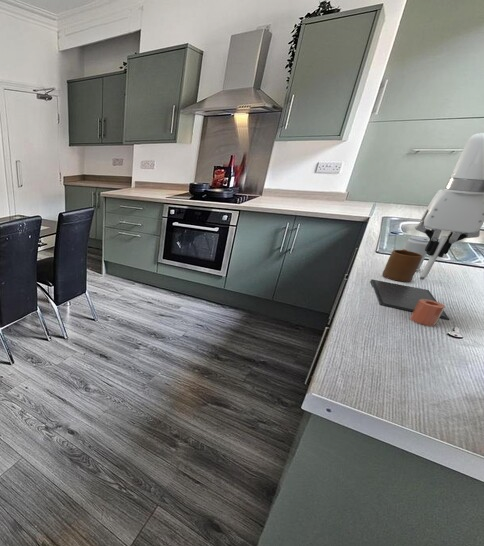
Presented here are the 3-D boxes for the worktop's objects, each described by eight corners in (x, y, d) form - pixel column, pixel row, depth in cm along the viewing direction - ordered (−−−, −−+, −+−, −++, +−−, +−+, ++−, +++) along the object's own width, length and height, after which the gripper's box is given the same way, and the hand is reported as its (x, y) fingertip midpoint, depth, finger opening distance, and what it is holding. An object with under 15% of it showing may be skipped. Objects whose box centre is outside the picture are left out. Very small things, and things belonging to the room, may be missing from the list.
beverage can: (422, 272, 116) (438, 241, 111) (400, 270, 118) (414, 239, 113) (412, 266, 121) (427, 237, 116) (392, 264, 123) (405, 235, 118)
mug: (380, 268, 119) (390, 245, 115) (407, 273, 114) (419, 249, 111) (382, 278, 110) (393, 253, 107) (412, 284, 106) (425, 258, 102)
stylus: (424, 279, 88) (447, 236, 82) (424, 280, 87) (448, 237, 81) (418, 278, 89) (441, 235, 83) (418, 279, 88) (442, 237, 82)
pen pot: (431, 321, 84) (442, 302, 82) (436, 329, 81) (447, 309, 78) (408, 316, 86) (417, 297, 84) (411, 323, 83) (421, 304, 81)
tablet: (427, 292, 100) (428, 289, 100) (448, 321, 84) (450, 318, 84) (370, 281, 108) (371, 278, 107) (379, 306, 92) (380, 303, 91)
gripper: (510, 187, 76) (471, 257, 84) (421, 182, 85) (393, 246, 92) (525, 191, 71) (481, 265, 78) (428, 185, 79) (397, 252, 86)
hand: (434, 254), depth 85 cm, fingers closed on stylus, 1 cm apart
